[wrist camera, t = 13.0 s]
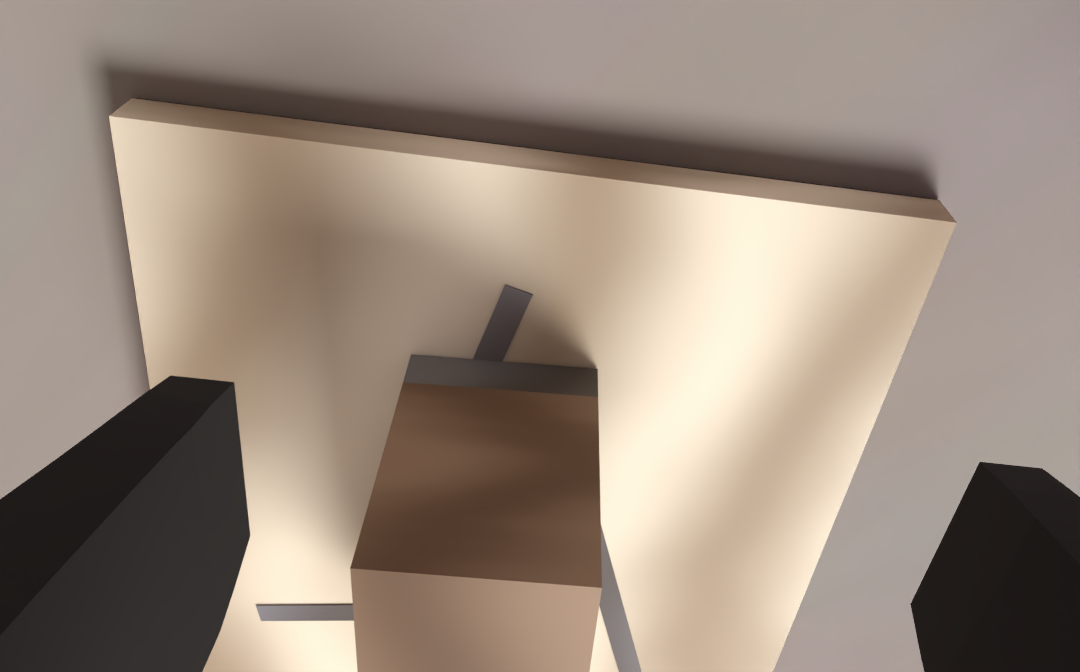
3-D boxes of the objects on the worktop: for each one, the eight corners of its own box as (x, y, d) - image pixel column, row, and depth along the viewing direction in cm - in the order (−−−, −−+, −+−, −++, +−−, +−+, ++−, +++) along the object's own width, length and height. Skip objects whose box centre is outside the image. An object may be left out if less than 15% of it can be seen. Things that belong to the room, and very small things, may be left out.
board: (939, 200, 18) (957, 223, 17) (730, 732, 28) (735, 764, 27) (131, 97, 18) (107, 116, 17) (209, 675, 28) (196, 706, 27)
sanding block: (597, 368, 19) (601, 587, 14) (567, 617, 24) (562, 851, 19) (411, 354, 19) (349, 568, 14) (414, 605, 24) (369, 836, 19)
